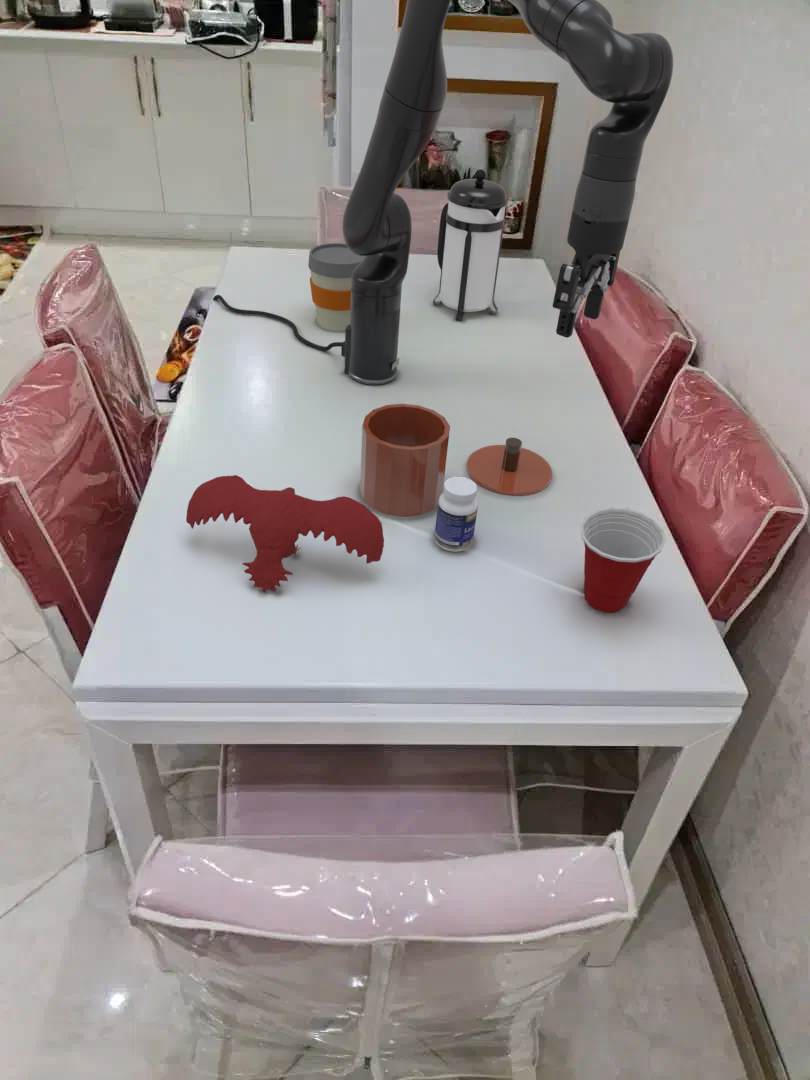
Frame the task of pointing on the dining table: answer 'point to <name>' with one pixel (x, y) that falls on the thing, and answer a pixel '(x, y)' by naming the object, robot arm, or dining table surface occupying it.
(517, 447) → the lid
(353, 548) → the decorative bird sculpture
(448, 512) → the pill bottle
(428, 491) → the pot
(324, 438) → the dining table surface
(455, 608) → the dining table surface
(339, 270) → the reusable coffee cup
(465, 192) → the coffee press
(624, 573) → the plastic cup
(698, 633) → the dining table surface
